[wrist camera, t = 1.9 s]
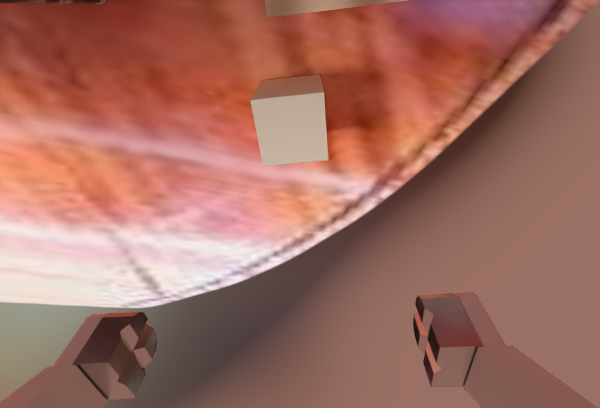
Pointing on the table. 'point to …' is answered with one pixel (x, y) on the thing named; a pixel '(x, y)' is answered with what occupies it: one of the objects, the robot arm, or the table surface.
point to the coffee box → (55, 1)
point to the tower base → (313, 6)
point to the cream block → (290, 120)
